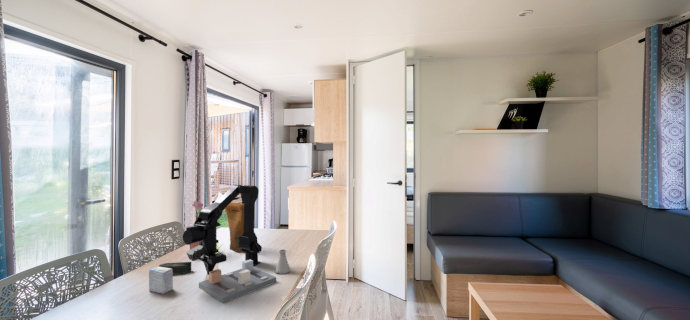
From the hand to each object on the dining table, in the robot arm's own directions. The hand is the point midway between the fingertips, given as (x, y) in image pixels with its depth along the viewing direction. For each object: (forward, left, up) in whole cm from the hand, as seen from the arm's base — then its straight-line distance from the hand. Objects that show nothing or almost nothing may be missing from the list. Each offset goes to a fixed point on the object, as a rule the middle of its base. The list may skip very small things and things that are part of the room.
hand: (209, 274), depth 124 cm
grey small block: (+5, +15, -2) cm, 16 cm away
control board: (+11, +7, -4) cm, 13 cm away
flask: (+14, +28, -4) cm, 32 cm away
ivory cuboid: (+15, +7, -2) cm, 17 cm away
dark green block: (-23, -6, -4) cm, 24 cm away
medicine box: (-8, -16, -4) cm, 18 cm away
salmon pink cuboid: (+6, 0, -2) cm, 6 cm away
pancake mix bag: (-31, +30, -4) cm, 44 cm away
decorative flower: (-39, +13, -4) cm, 42 cm away
